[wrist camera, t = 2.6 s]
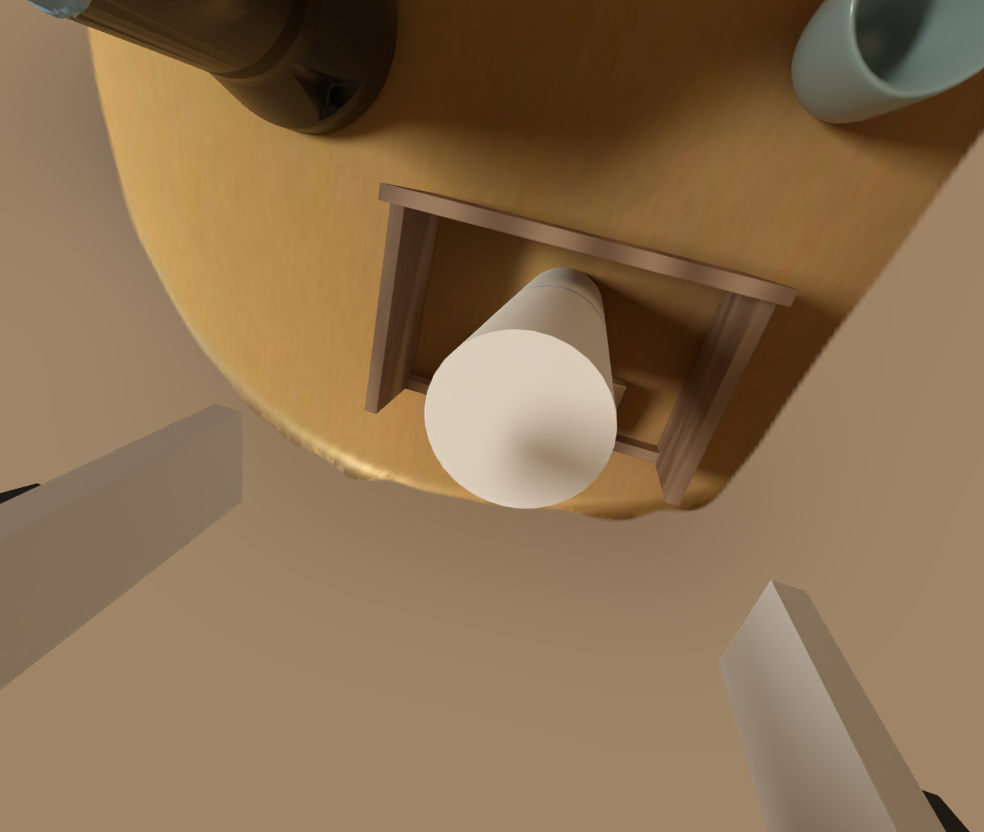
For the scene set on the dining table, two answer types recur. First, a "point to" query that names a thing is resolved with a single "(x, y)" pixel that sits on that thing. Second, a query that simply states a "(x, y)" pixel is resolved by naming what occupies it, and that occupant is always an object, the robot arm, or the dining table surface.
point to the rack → (735, 316)
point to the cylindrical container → (528, 397)
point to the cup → (884, 55)
